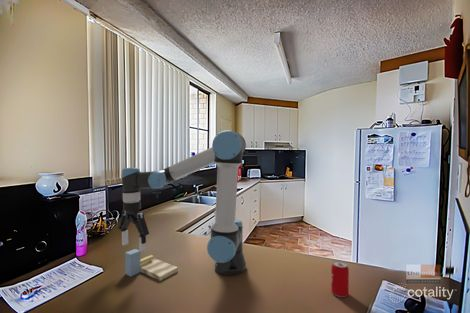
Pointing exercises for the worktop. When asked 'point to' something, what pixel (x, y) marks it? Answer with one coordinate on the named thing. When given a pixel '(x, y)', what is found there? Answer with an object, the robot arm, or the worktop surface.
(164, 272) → the board
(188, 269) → the worktop surface
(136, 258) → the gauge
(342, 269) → the beverage can
